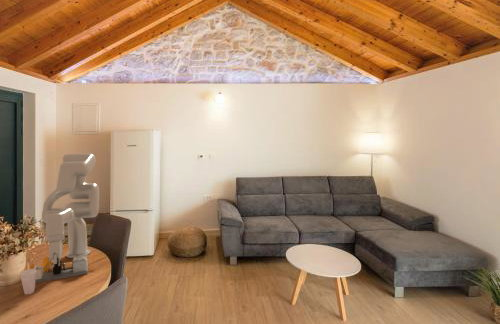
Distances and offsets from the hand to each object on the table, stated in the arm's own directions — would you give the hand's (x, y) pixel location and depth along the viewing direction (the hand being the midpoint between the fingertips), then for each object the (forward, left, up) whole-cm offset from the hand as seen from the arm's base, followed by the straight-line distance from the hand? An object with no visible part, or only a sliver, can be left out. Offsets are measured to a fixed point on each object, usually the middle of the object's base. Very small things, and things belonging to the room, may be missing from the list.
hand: (57, 271), depth 153 cm
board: (0, +2, -2) cm, 3 cm away
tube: (0, +4, 0) cm, 4 cm away
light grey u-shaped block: (0, -8, -1) cm, 8 cm away
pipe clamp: (-7, -9, -2) cm, 12 cm away
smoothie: (+13, -9, -2) cm, 17 cm away
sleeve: (0, +10, -1) cm, 10 cm away
